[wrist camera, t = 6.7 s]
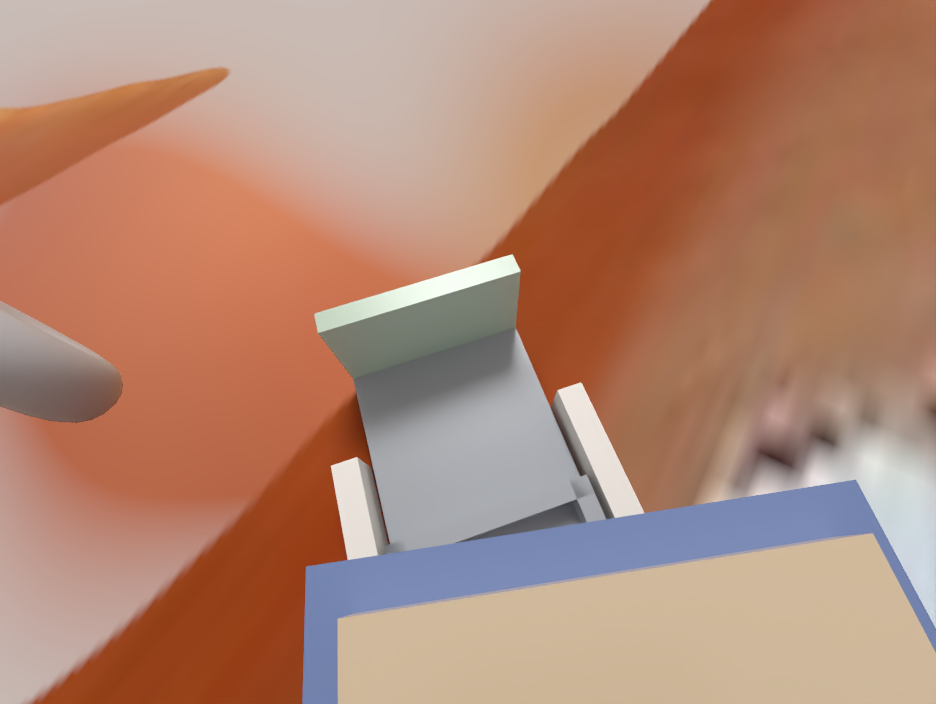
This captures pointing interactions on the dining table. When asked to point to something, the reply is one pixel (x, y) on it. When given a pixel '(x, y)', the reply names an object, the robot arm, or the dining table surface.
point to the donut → (51, 372)
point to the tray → (456, 411)
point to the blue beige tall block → (633, 613)
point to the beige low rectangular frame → (583, 442)
